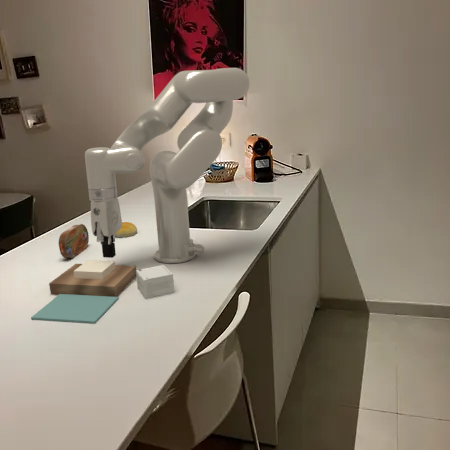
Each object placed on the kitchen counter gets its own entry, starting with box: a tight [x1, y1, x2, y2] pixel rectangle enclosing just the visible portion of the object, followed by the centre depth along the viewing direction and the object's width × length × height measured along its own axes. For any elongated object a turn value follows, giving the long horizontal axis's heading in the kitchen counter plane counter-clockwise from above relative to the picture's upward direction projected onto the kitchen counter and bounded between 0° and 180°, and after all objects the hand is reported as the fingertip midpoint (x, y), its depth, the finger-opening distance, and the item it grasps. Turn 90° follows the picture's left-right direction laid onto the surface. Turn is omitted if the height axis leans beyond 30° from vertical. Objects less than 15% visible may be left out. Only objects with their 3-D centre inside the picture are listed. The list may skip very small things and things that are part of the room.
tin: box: [58, 223, 90, 259], centre depth 161 cm, size 15×3×8 cm, turn 168°
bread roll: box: [115, 221, 138, 239], centre depth 179 cm, size 8×9×4 cm
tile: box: [74, 259, 116, 279], centre depth 137 cm, size 8×8×2 cm
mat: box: [31, 294, 119, 324], centre depth 123 cm, size 16×13×1 cm
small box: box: [136, 264, 175, 299], centre depth 131 cm, size 8×8×5 cm
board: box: [48, 263, 137, 297], centre depth 136 cm, size 18×14×3 cm
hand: (109, 256), depth 146 cm, fingers closed
